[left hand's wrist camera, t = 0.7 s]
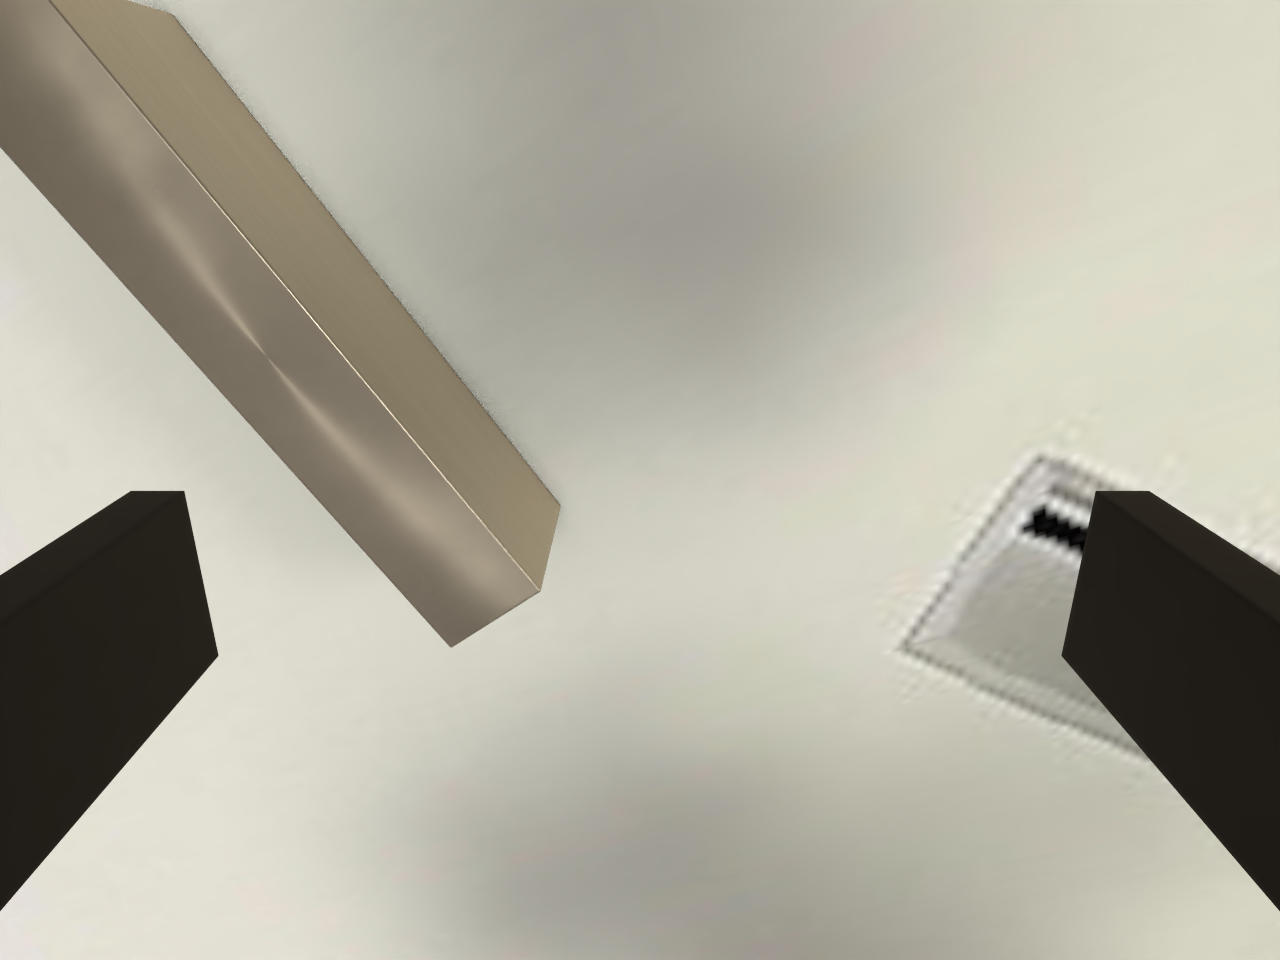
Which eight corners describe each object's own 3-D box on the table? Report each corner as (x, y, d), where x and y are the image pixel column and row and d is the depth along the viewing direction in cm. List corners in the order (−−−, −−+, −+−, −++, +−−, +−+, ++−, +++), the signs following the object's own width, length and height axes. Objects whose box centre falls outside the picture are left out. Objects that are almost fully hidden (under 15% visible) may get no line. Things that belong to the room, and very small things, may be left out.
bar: (92, 85, 33) (-77, 63, 25) (171, 12, 32) (21, -34, 24) (487, 554, 40) (450, 649, 33) (561, 506, 39) (541, 591, 32)
